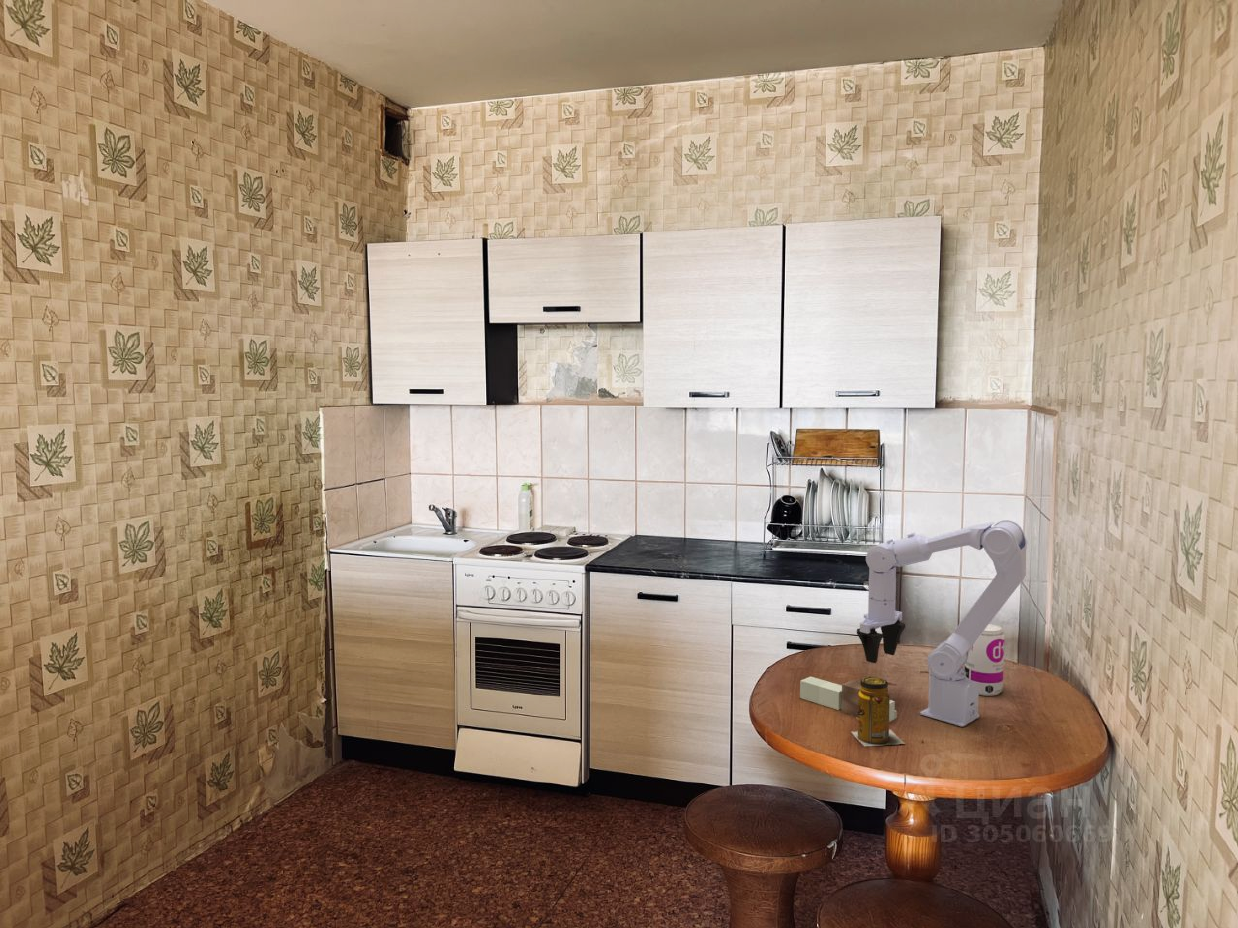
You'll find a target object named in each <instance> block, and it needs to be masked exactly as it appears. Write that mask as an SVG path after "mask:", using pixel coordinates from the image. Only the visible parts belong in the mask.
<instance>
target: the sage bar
mask: <svg viewBox="0 0 1238 928" xmlns="http://www.w3.org/2000/svg"><path fill="white" fill-rule="evenodd" d="M799 698H800V699H802V700H805V701H808V702H813V703H815V704H818V705H820V706H821V705H822V706H824V707H828V708H831V709H834V710H838V711H840V710H842V684H838V683H834V682H831V681H828V680H824V679H821V678H817V677H814V676H811V675H810V676H808V677H805V678H804V679H801V680H800V682H799ZM895 704H896V701H895V700H892V699H890V705H889V723H890V722H892V721H894V720H896V719H897V717H898V716H897V715H898V712H897V711H898V710H895V708H896V707H895V706H896V705H895Z"/></svg>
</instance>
